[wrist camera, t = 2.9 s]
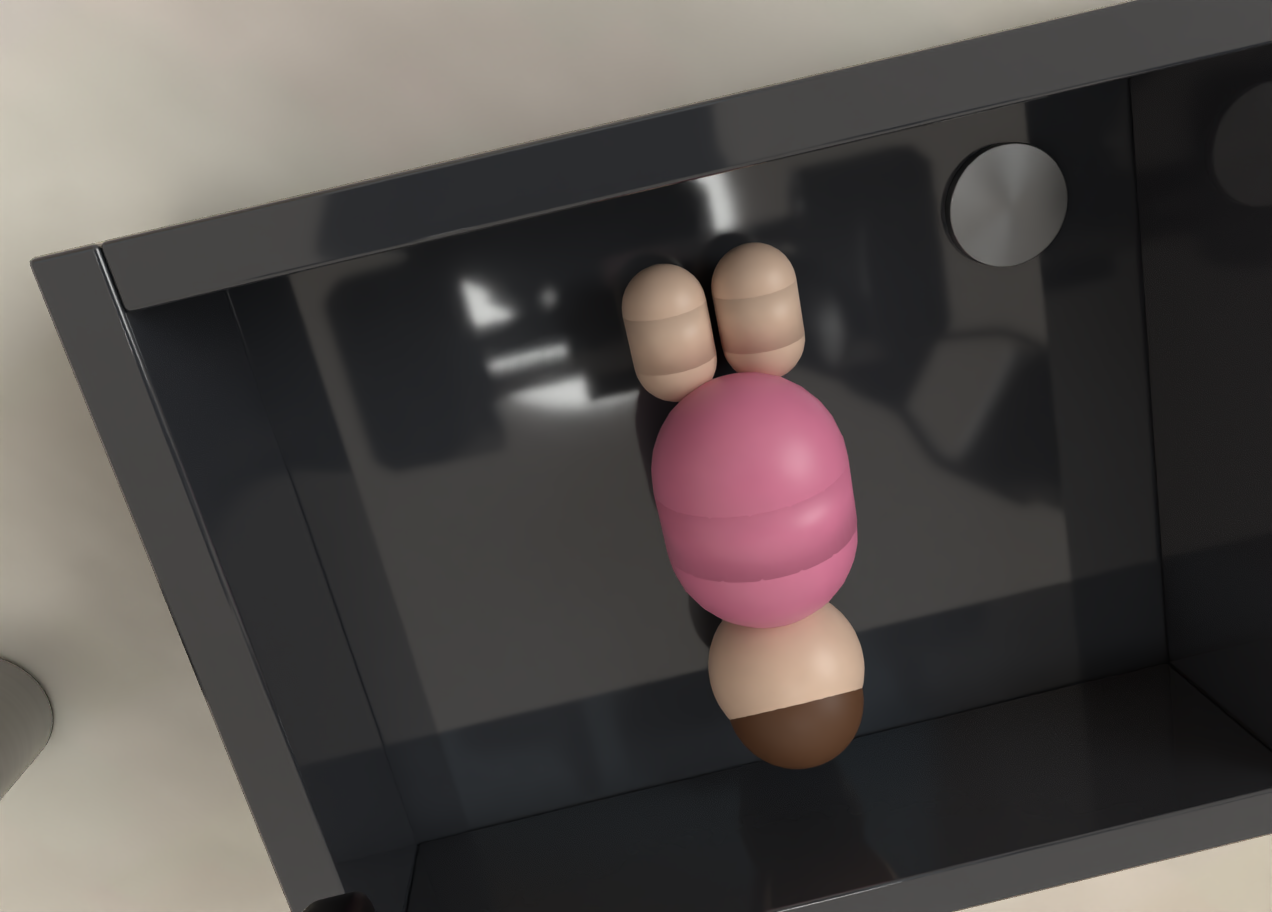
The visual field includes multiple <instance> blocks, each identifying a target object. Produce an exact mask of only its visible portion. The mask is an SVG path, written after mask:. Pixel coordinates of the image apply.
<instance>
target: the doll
mask: <svg viewBox="0 0 1272 912" xmlns="http://www.w3.org/2000/svg"><path fill="white" fill-rule="evenodd" d="M711 290H712V298H713V303H714V308H715V314H716V319H717V324H718V330H719V335H720V340H721V345H722V349H723V352H724V356H725V358H726V360H727V362H728V363H729V364H730V366H731V367H732V368H733V369H734V370H735V371H736V372H738V373H733V374H728V375H724V376H721V377H717V378H715V379H713V376H714V373H715V370H716V365H717V355H716V348H715V343H714V337H713V332H712V327H711V322H710V316H709V311H708V306H707V301H706V297H705V294H704V290H703V288H702V286H701V284H700V282H699V281H698V280H697V279H696V278H695V276H694V275H692V274H691V273H690V272H688V271H687V270H686V269H684V268H681V267H679V266H676V265H672V264H656V265H652V266H650V267H647V268H645V269H643V270H641V271H640V272H639V273H638V274H636V275H635V276H634V277H633V278H632V280H631V281H630V282H629V284H628V285H627V287H626V289H625V292H624V295H623V298H622V315H623V320H624V325H625V329H626V333H627V338H628V342H629V347H630V351H631V356H632V360H633V364H634V369H635V372H636V375H637V378H638V379H639V381H640V383H641V384H642V386H643V387H644V388H645V389H646V390H647V391H648V392H649V393H651V394H652V395H653V396H655V397H657V398H659V399H662V400H665V401H671V402H679V403H678V404H677V405H676V406H675V407H674V408H673V409H672V411H671V412H670V413H669V415H668V416H667V418H666V420H665V421H664V423H663V425H662V427H661V429H660V431H659V433H658V436H657V439H656V442H655V446H654V449H653V454H652V464H651V476H652V484H653V493H654V497H655V502H656V506H657V510H658V515H659V519H660V523H661V528H662V532H663V537H664V541H665V545H666V550H667V554H668V557H669V560H670V562H671V565H672V568H673V570H674V572H675V574H676V576H677V578H678V580H679V581H680V583H681V585H682V586H683V588H684V589H685V591H686V592H687V593H688V594H689V595H690V596H691V597H692V598H693V599H694V600H695V601H696V602H697V603H698V604H699V605H700V606H701V607H702V608H703V609H705V610H707V611H708V612H710V613H712V614H714V615H715V616H717V617H719V618H721V619H722V622H721V623H720V625H719V626H718V628H717V630H716V632H715V634H714V637H713V640H712V643H711V646H710V651H709V660H708V671H709V678H710V684H711V687H712V691H713V693H714V696H715V698H716V700H717V702H718V704H719V706H720V708H721V709H722V710H723V712H724V713H725V715H726V716H727V717H728V719H729V720H730V722H731V725H732V727H733V729H734V731H735V733H736V734H737V736H738V737H739V739H740V740H741V742H742V743H743V744H744V745H745V746H746V747H747V748H748V749H749V750H750V751H751V752H752V753H753V754H754V755H756V756H757V757H759V758H760V759H762V760H764V761H766V762H767V763H770V764H772V765H775V766H778V767H782V768H787V769H807V768H813V767H816V766H819V765H822V764H824V763H826V762H828V761H830V760H832V759H834V758H835V757H836V756H838V755H839V754H840V753H841V752H843V751H844V750H845V749H846V747H847V746H848V745H849V744H850V742H851V741H852V740H853V738H854V736H855V734H856V733H857V731H858V728H859V726H860V723H861V719H862V715H863V706H864V697H863V689H862V687H863V683H864V669H865V667H864V657H863V652H862V648H861V644H860V642H859V640H858V637H857V635H856V632H855V631H854V629H853V627H852V626H851V624H850V623H849V621H848V620H847V619H846V618H845V616H844V615H843V614H842V613H841V612H840V611H839V610H838V609H837V608H835V607H834V606H833V605H832V604H831V603H829V601H830V600H831V599H832V597H833V596H834V595H835V594H836V593H837V591H838V590H839V589H840V588H841V586H842V585H843V584H844V582H845V580H846V578H847V576H848V573H849V571H850V569H851V567H852V564H853V561H854V558H855V553H856V548H857V515H856V508H855V501H854V494H853V487H852V480H851V473H850V467H849V460H848V454H847V450H846V446H845V442H844V438H843V436H842V434H841V432H840V430H839V428H838V426H837V424H836V422H835V420H834V419H833V417H832V415H831V414H830V412H829V411H828V410H827V409H826V408H825V406H824V405H823V404H822V403H821V401H819V400H818V399H817V398H816V397H814V396H813V395H812V394H811V393H809V392H808V391H807V390H805V389H804V388H803V387H802V386H800V385H797V384H795V383H793V382H791V381H789V380H787V379H784V378H782V377H781V376H783V375H785V374H787V373H788V372H789V371H790V370H791V369H792V368H793V367H794V366H795V365H796V364H797V362H798V361H799V359H800V358H801V355H802V353H803V350H804V344H805V332H804V325H803V319H802V312H801V306H800V299H799V293H798V286H797V280H796V275H795V271H794V269H793V267H792V265H791V263H790V261H789V260H788V259H787V257H786V256H785V255H784V254H783V253H782V252H781V251H779V250H778V249H776V248H774V247H772V246H770V245H767V244H764V243H745V244H742V245H739V246H737V247H735V248H733V249H731V250H730V251H729V252H727V253H726V254H725V255H724V256H723V257H722V258H721V259H720V261H719V262H718V264H717V266H716V268H715V270H714V273H713V276H712V282H711Z"/></svg>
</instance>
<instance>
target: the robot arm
mask: <svg viewBox="0 0 1272 912" xmlns="http://www.w3.org/2000/svg"><path fill="white" fill-rule="evenodd" d="M303 912H375V910H374V907H373V905H372V903H371V901H370V900H369V898H368V897H367V895H366V894H364V893H362V892H359V891H353V892H349V893H345V894H341V895H337V896H333V897H329V898H325V899H320V900H317V901H315V902H313V903H311V904H310V905H309V906H308V907H307V908H306V909H305V910H304V911H303Z"/></svg>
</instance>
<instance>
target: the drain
mask: <svg viewBox="0 0 1272 912" xmlns="http://www.w3.org/2000/svg"><path fill="white" fill-rule="evenodd" d="M1067 205H1068V190H1067V184H1066V180H1065V177H1064V175H1063V172H1062V170H1061V168H1060V167H1059V165H1058V164H1057V162H1056V161H1055V160H1054V159H1053V158H1052V157H1051V156H1050V155H1049V154H1048V153H1047V152H1045V151H1044V150H1042V149H1041V148H1039V147H1036V146H1034V145H1031V144H1028V143H1021V142H1004V143H998V144H995V145H992V146H989V147H987V148H985V149H982V150H981V151H979V152H978V153H976V154H975V155H973V156H972V157H971V158H970V159H969V160H968V161H967V162H966V163H965V164H964V165H963V166H962V167H961V168H960V170H959V171H958V172H957V174H956V176H955V177H954V179H953V181H952V184H951V186H950V189H949V192H948V195H947V200H946V222H947V227H948V230H949V233H950V235H951V237H952V239H953V241H954V243H955V244H956V246H957V247H958V248H959V249H960V250H961V251H962V252H963V253H964V254H965V255H966V256H967V257H969V258H971V259H972V260H974V261H976V262H979V263H981V264H985V265H988V266H992V267H1011V266H1016V265H1019V264H1022V263H1025V262H1027V261H1029V260H1031V259H1033V258H1034V257H1036V256H1037V255H1039V254H1040V253H1041V252H1043V251H1044V250H1045V249H1046V248H1047V247H1048V246H1049V245H1050V244H1051V242H1052V241H1053V240H1054V239H1055V237H1056V236H1057V234H1058V232H1059V231H1060V229H1061V226H1062V224H1063V222H1064V219H1065V216H1066V211H1067Z"/></svg>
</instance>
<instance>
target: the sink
mask: <svg viewBox="0 0 1272 912" xmlns="http://www.w3.org/2000/svg"><path fill="white" fill-rule="evenodd" d="M1004 142H1021V143H1028V144H1031V145H1034V146H1036V147H1039V148H1041V149H1042V150H1044V151H1045V152H1047V153H1048V154H1049V155H1050V156H1051V157H1052V158H1053V159H1054V160H1055V161H1056V162H1057V164H1058V165H1059V167H1060V168H1061V170H1062V172H1063V175H1064V177H1065V180H1066V184H1067V190H1068V205H1067V211H1066V216H1065V219H1064V222H1063V224H1062V226H1061V229H1060V231H1059V232H1058V234H1057V236H1056V237H1055V239H1054V240H1053V241H1052V242H1051V244H1050V245H1049V246H1048V247H1047V248H1046V249H1045V250H1044V251H1043V252H1041V253H1040V254H1039V255H1037V256H1036V257H1034V258H1033V259H1031V260H1029V261H1027V262H1025V263H1022V264H1019V265H1016V266H1011V267H992V266H988V265H985V264H981V263H979V262H976V261H974V260H972V259H971V258H969V257H967V256H966V255H965V254H964V253H963V252H962V251H961V250H960V249H959V248H958V247H957V246H956V244H955V243H954V241H953V239H952V237H951V235H950V233H949V230H948V227H947V222H946V200H947V195H948V192H949V189H950V186H951V184H952V181H953V179H954V177H955V176H956V174H957V172H958V171H959V170H960V168H961V167H962V166H963V165H964V164H965V163H966V162H967V161H968V160H969V159H970V158H971V157H972V156H973V155H975V154H976V153H978V152H979V151H981V150H982V149H985V148H987V147H989V146H992V145H995V144H998V143H1004ZM745 243H764V244H767V245H770V246H772V247H774V248H776V249H778V250H779V251H781V252H782V253H783V254H784V255H785V256H786V257H787V259H788V260H789V261H790V263H791V265H792V267H793V269H794V271H795V275H796V280H797V286H798V293H799V299H800V306H801V312H802V319H803V325H804V332H805V344H804V350H803V353H802V355H801V358H800V359H799V361H798V362H797V364H796V365H795V366H794V367H793V368H792V369H791V370H790V371H789V372H788V373H787V374H785V375H783V376H781V377H782V378H784V379H787V380H789V381H791V382H793V383H795V384H797V385H800V386H802V387H803V388H804V389H805V390H807V391H808V392H809V393H811V394H812V395H813V396H814V397H816V398H817V399H818V400H819V401H821V403H822V404H823V405H824V406H825V408H826V409H827V410H828V411H829V412H830V414H831V415H832V417H833V419H834V420H835V422H836V424H837V426H838V428H839V430H840V432H841V434H842V436H843V438H844V442H845V446H846V450H847V454H848V460H849V467H850V473H851V480H852V487H853V494H854V501H855V508H856V515H857V548H856V553H855V558H854V561H853V564H852V567H851V569H850V571H849V573H848V576H847V578H846V580H845V582H844V584H843V585H842V586H841V588H840V589H839V590H838V591H837V593H836V594H835V595H834V596H833V597H832V599H831V600H830V601H829V603H831V604H832V605H833V606H834V607H835V608H837V609H838V610H839V611H840V612H841V613H842V614H843V615H844V616H845V618H846V619H847V620H848V621H849V623H850V624H851V626H852V627H853V629H854V631H855V632H856V635H857V637H858V640H859V642H860V644H861V648H862V652H863V657H864V667H865V669H864V683H863V687H862V689H863V697H864V706H863V715H862V719H861V723H860V726H859V728H858V731H857V733H856V734H855V736H854V738H853V740H852V741H851V742H850V744H849V745H848V746H847V747H846V749H845V750H844V751H843V752H841V753H840V754H839V755H838V756H836V757H835V758H834V759H832V760H830V761H828V762H826V763H824V764H822V765H819V766H816V767H813V768H807V769H787V768H782V767H778V766H775V765H772V764H770V763H767V762H766V761H764V760H762V759H760V758H759V757H757V756H756V755H754V754H753V753H752V752H751V751H750V750H749V749H748V748H747V747H746V746H745V745H744V744H743V743H742V742H741V740H740V739H739V737H738V736H737V734H736V733H735V731H734V729H733V727H732V725H731V722H730V720H729V719H728V717H727V716H726V715H725V713H724V712H723V710H722V709H721V708H720V706H719V704H718V702H717V700H716V698H715V696H714V693H713V691H712V687H711V684H710V678H709V671H708V660H709V651H710V646H711V643H712V640H713V637H714V634H715V632H716V630H717V628H718V626H719V625H720V623H721V622H722V619H721V618H719V617H717V616H715V615H714V614H712V613H710V612H708V611H707V610H705V609H703V608H702V607H701V606H700V605H699V604H698V603H697V602H696V601H695V600H694V599H693V598H692V597H691V596H690V595H689V594H688V593H687V592H686V591H685V589H684V588H683V586H682V585H681V583H680V581H679V580H678V578H677V576H676V574H675V572H674V570H673V568H672V565H671V562H670V560H669V557H668V554H667V550H666V545H665V541H664V537H663V532H662V528H661V523H660V519H659V515H658V510H657V506H656V502H655V497H654V493H653V484H652V476H651V464H652V454H653V449H654V446H655V442H656V439H657V436H658V433H659V431H660V429H661V427H662V425H663V423H664V421H665V420H666V418H667V416H668V415H669V413H670V412H671V411H672V409H673V408H674V407H675V406H676V405H677V404H678V403H679V402H671V401H665V400H662V399H659V398H657V397H655V396H653V395H652V394H651V393H649V392H648V391H647V390H646V389H645V388H644V387H643V386H642V384H641V383H640V381H639V379H638V378H637V375H636V372H635V369H634V364H633V360H632V356H631V351H630V347H629V342H628V338H627V333H626V329H625V325H624V320H623V315H622V298H623V295H624V292H625V289H626V287H627V285H628V284H629V282H630V281H631V280H632V278H633V277H634V276H635V275H636V274H638V273H639V272H640V271H641V270H643V269H645V268H647V267H650V266H652V265H656V264H672V265H676V266H679V267H681V268H684V269H686V270H687V271H688V272H690V273H691V274H692V275H694V276H695V278H696V279H697V280H698V281H699V282H700V284H701V286H702V288H703V290H704V294H705V297H706V301H707V306H708V311H709V316H710V322H711V327H712V332H713V337H714V343H715V348H716V355H717V365H716V370H715V373H714V376H713V379H715V378H717V377H721V376H724V375H728V374H733V373H738V372H736V371H735V370H734V369H733V368H732V367H731V366H730V364H729V363H728V362H727V360H726V358H725V356H724V352H723V349H722V345H721V340H720V335H719V330H718V324H717V319H716V314H715V308H714V303H713V298H712V290H711V282H712V276H713V273H714V270H715V268H716V266H717V264H718V262H719V261H720V259H721V258H722V257H723V256H724V255H725V254H726V253H727V252H729V251H730V250H731V249H733V248H735V247H737V246H739V245H742V244H745ZM30 266H31V269H32V271H33V274H34V276H35V279H36V281H37V284H38V286H39V289H40V291H41V294H42V296H43V299H44V301H45V303H46V306H47V308H48V311H49V313H50V316H51V318H52V321H53V323H54V326H55V328H56V331H57V333H58V336H59V338H60V341H61V343H62V346H63V348H64V351H65V353H66V355H67V358H68V360H69V363H70V365H71V368H72V370H73V373H74V375H75V378H76V380H77V383H78V385H79V388H80V390H81V393H82V395H83V398H84V400H85V403H86V405H87V407H88V410H89V412H90V415H91V417H92V420H93V422H94V425H95V427H96V430H97V432H98V435H99V437H100V440H101V442H102V445H103V447H104V450H105V452H106V455H107V457H108V459H109V462H110V464H111V467H112V469H113V472H114V474H115V477H116V479H117V482H118V484H119V487H120V489H121V492H122V494H123V497H124V499H125V502H126V504H127V507H128V509H129V511H130V514H131V516H132V519H133V521H134V524H135V526H136V529H137V531H138V534H139V536H140V539H141V541H142V544H143V546H144V549H145V551H146V554H147V556H148V559H149V561H150V563H151V566H152V568H153V571H154V573H155V576H156V578H157V581H158V583H159V586H160V588H161V591H162V593H163V596H164V598H165V601H166V603H167V606H168V608H169V611H170V613H171V615H172V618H173V620H174V623H175V625H176V628H177V630H178V633H179V635H180V638H181V640H182V643H183V645H184V648H185V650H186V653H187V655H188V658H189V660H190V663H191V665H192V667H193V670H194V672H195V675H196V677H197V680H198V682H199V685H200V687H201V690H202V692H203V695H204V697H205V700H206V702H207V705H208V707H209V710H210V712H211V715H212V717H213V719H214V722H215V724H216V727H217V729H218V732H219V734H220V737H221V739H222V742H223V744H224V747H225V749H226V752H227V754H228V757H229V759H230V762H231V764H232V767H233V769H234V771H235V774H236V776H237V779H238V781H239V784H240V786H241V789H242V791H243V794H244V796H245V799H246V801H247V804H248V806H249V809H250V811H251V814H252V816H253V818H254V821H255V823H256V826H257V828H258V831H259V833H260V836H261V838H262V841H263V843H264V846H265V848H266V851H267V853H268V856H269V858H270V861H271V863H272V866H273V868H274V870H275V873H276V875H277V878H278V880H279V883H280V885H281V888H282V890H283V893H284V895H285V898H286V900H287V903H288V905H289V908H290V910H291V912H303V911H304V910H305V909H306V908H307V907H308V906H309V905H310V904H311V903H313V902H315V901H317V900H320V899H325V898H329V897H333V896H337V895H341V894H345V893H349V892H353V891H359V892H362V893H364V894H366V895H367V897H368V898H369V900H370V901H371V903H372V905H373V907H374V910H375V912H955V911H959V910H963V909H968V908H972V907H976V906H980V905H984V904H988V903H992V902H996V901H1000V900H1004V899H1008V898H1012V897H1017V896H1021V895H1025V894H1029V893H1033V892H1037V891H1041V890H1045V889H1049V888H1053V887H1057V886H1061V885H1066V884H1070V883H1074V882H1078V881H1082V880H1086V879H1090V878H1094V877H1098V876H1102V875H1106V874H1110V873H1115V872H1119V871H1123V870H1127V869H1131V868H1135V867H1139V866H1143V865H1147V864H1151V863H1155V862H1159V861H1164V860H1168V859H1172V858H1176V857H1180V856H1184V855H1188V854H1192V853H1196V852H1200V851H1204V850H1208V849H1213V848H1217V847H1221V846H1225V845H1229V844H1233V843H1237V842H1241V841H1245V840H1249V839H1253V838H1258V837H1262V836H1266V835H1270V834H1272V0H1131V1H1126V2H1122V3H1118V4H1114V5H1109V6H1105V7H1101V8H1096V9H1092V10H1088V11H1084V12H1079V13H1075V14H1071V15H1067V16H1062V17H1058V18H1054V19H1049V20H1045V21H1041V22H1037V23H1032V24H1028V25H1024V26H1020V27H1015V28H1011V29H1007V30H1002V31H998V32H994V33H990V34H985V35H981V36H977V37H973V38H968V39H964V40H960V41H955V42H951V43H947V44H943V45H938V46H934V47H930V48H926V49H921V50H917V51H913V52H908V53H904V54H900V55H896V56H891V57H887V58H883V59H879V60H874V61H870V62H866V63H861V64H857V65H853V66H849V67H844V68H840V69H836V70H832V71H827V72H823V73H819V74H814V75H810V76H806V77H802V78H797V79H793V80H789V81H785V82H780V83H776V84H772V85H767V86H763V87H759V88H755V89H750V90H746V91H742V92H738V93H733V94H729V95H725V96H720V97H716V98H712V99H708V100H703V101H699V102H695V103H691V104H686V105H682V106H678V107H673V108H669V109H665V110H661V111H656V112H652V113H648V114H644V115H639V116H635V117H631V118H626V119H622V120H618V121H614V122H609V123H605V124H601V125H597V126H592V127H588V128H584V129H579V130H575V131H571V132H567V133H562V134H558V135H554V136H549V137H545V138H541V139H537V140H532V141H528V142H524V143H520V144H515V145H511V146H507V147H502V148H498V149H494V150H490V151H485V152H481V153H477V154H473V155H468V156H464V157H460V158H455V159H451V160H447V161H443V162H438V163H434V164H430V165H426V166H421V167H417V168H413V169H408V170H404V171H400V172H396V173H391V174H387V175H383V176H379V177H374V178H370V179H366V180H361V181H357V182H353V183H349V184H344V185H340V186H336V187H332V188H327V189H323V190H319V191H314V192H310V193H306V194H302V195H297V196H293V197H289V198H285V199H280V200H276V201H272V202H267V203H263V204H259V205H255V206H250V207H246V208H242V209H238V210H233V211H229V212H225V213H220V214H216V215H212V216H208V217H203V218H199V219H195V220H191V221H186V222H182V223H178V224H173V225H169V226H165V227H161V228H156V229H152V230H148V231H144V232H139V233H135V234H131V235H126V236H122V237H118V238H114V239H109V240H105V241H101V242H97V243H92V244H88V245H84V246H79V247H75V248H71V249H67V250H62V251H58V252H54V253H50V254H45V255H41V256H37V257H34V258H33V259H32V260H30Z"/></svg>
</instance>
